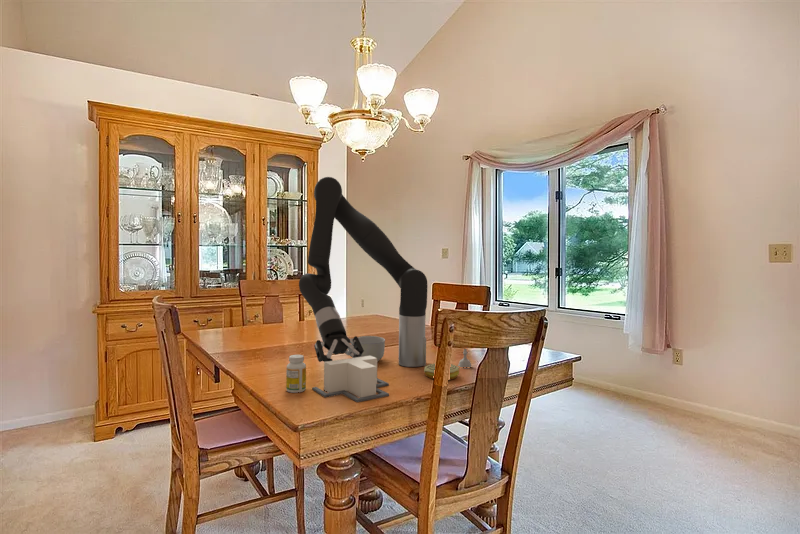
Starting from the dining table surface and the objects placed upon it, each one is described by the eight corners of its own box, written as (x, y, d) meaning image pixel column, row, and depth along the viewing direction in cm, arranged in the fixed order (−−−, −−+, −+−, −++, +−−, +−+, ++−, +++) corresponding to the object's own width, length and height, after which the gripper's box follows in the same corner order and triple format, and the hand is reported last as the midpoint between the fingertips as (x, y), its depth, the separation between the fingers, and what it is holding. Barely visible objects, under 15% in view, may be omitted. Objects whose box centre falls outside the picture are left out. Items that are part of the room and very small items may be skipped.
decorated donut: (434, 371, 149) (434, 359, 149) (464, 376, 143) (464, 364, 143) (418, 378, 140) (418, 365, 140) (449, 383, 134) (449, 371, 134)
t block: (323, 390, 126) (324, 361, 125) (370, 382, 134) (370, 355, 134) (343, 402, 116) (344, 371, 116) (392, 392, 124) (392, 364, 124)
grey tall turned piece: (471, 370, 149) (472, 316, 149) (452, 367, 152) (452, 315, 152) (477, 365, 156) (478, 313, 155) (458, 363, 159) (459, 312, 158)
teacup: (386, 357, 166) (386, 336, 166) (382, 364, 155) (382, 341, 155) (349, 356, 167) (349, 335, 167) (343, 363, 156) (343, 340, 156)
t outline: (312, 389, 126) (312, 387, 126) (373, 378, 138) (374, 376, 138) (338, 406, 113) (338, 403, 113) (404, 392, 125) (404, 390, 125)
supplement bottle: (291, 394, 122) (291, 359, 121) (282, 389, 126) (283, 355, 125) (309, 390, 125) (309, 356, 125) (300, 386, 129) (300, 353, 129)
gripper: (312, 319, 133) (328, 366, 124) (354, 316, 141) (372, 359, 132) (305, 334, 137) (320, 380, 128) (346, 330, 146) (363, 373, 137)
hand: (347, 369), depth 130 cm, fingers open, 8 cm apart
